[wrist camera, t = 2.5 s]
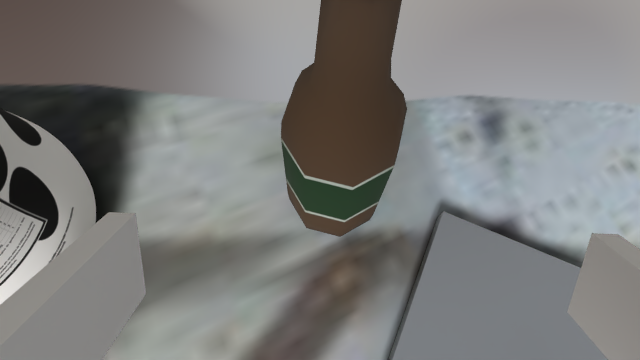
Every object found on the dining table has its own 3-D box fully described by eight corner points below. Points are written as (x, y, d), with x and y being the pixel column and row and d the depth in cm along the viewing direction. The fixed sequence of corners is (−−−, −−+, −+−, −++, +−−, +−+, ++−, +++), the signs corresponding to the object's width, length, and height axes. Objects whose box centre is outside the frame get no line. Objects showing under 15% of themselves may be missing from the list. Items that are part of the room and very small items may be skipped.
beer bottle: (368, 152, 37) (452, -143, 16) (385, 233, 34) (520, 4, 12) (284, 162, 37) (249, -132, 15) (293, 244, 34) (266, 25, 12)
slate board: (627, 296, 33) (642, 293, 31) (602, 491, 27) (619, 499, 26) (437, 217, 35) (443, 211, 33) (380, 382, 30) (384, 383, 28)
